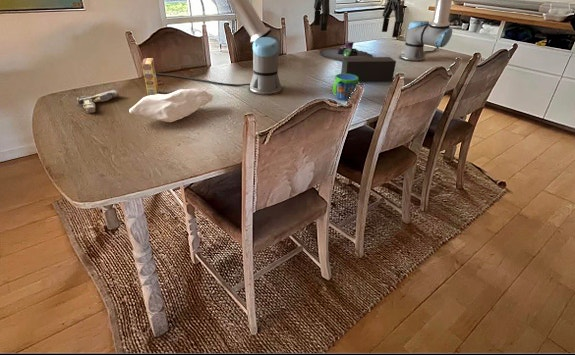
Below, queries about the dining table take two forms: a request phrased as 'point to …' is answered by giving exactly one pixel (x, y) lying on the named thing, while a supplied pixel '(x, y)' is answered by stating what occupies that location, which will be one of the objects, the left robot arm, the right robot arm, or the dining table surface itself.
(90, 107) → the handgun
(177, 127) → the dining table surface
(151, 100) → the crumpled cloth
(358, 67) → the box
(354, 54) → the grey round platform
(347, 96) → the snack cup
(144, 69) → the candy box
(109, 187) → the dining table surface
